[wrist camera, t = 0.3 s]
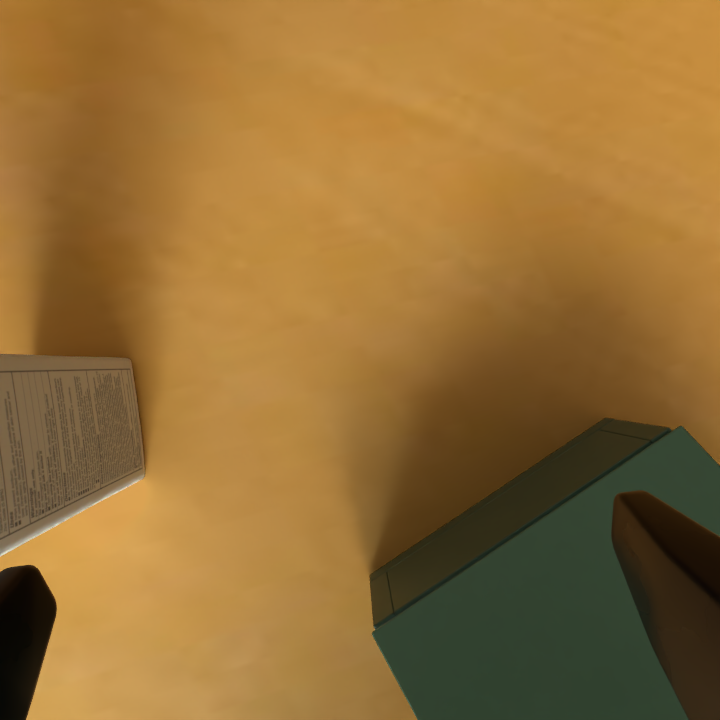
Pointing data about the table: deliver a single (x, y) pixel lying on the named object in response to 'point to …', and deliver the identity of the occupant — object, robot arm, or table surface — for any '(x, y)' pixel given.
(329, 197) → the table surface
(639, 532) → the robot arm
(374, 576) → the toy chest
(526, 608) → the lid
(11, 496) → the box
